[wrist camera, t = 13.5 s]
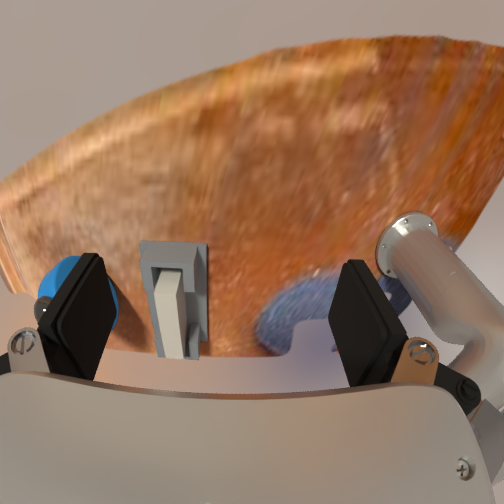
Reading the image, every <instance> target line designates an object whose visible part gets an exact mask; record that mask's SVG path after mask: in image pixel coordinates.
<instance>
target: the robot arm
mask: <svg viewBox="0 0 504 504" xmlns="http://www.w3.org/2000/svg"><path fill="white" fill-rule="evenodd" d="M376 260H377V263H378V265H379V267H380V269H381V270H382V272H383V273H384V274H386V275H387V276H389V277H392V278H398V279H399V280H400V282H401V283H402V285H403V286H404V288H405V289H406V290H407V292H408V293H409V295H410V296H411V298H412V299H413V301H414V302H415V304H416V305H417V307H418V308H419V310H420V312H421V313H422V315H423V316H424V318H425V319H426V321H427V323H428V324H429V326H430V327H431V329H432V331H433V332H434V333H435V335H436V336H437V337H438V338H440V339H441V340H442V341H445V342H448V343H451V344H458V345H464V349H463V350H462V351H461V352H460V354H459V355H458V356H457V357H456V358H455V359H454V360H453V361H452V362H451V363H450V364H449V365H448V366H445V365H443V364H441V363H439V354H438V350H437V349H436V347H435V346H434V345H433V344H432V343H431V342H430V341H428V340H426V339H424V338H420V337H414V338H410V339H409V338H408V336H407V335H406V333H407V332H406V330H405V329H404V327H403V325H402V323H401V322H400V320H399V318H398V316H397V314H396V313H395V311H394V309H393V307H392V306H391V304H390V302H389V301H388V299H387V297H386V295H385V294H384V292H383V290H382V289H381V287H380V286H379V284H378V282H377V281H376V279H375V277H374V276H373V274H372V273H371V271H370V269H369V268H368V266H367V265H366V263H365V262H364V260H353V259H350V260H348V262H347V263H344V264H343V267H342V270H341V274H340V277H339V281H338V284H337V288H336V291H335V295H334V298H333V301H332V304H331V308H330V311H329V315H328V320H329V324H330V327H331V330H332V333H333V336H334V339H335V342H336V345H337V348H338V351H339V354H340V357H341V360H342V363H343V366H344V369H345V373H346V376H347V379H348V382H349V385H350V387H348V388H339V389H329V390H319V391H307V392H292V393H271V394H212V393H211V394H210V393H191V392H176V391H164V390H153V389H144V388H136V387H129V386H122V385H114V384H109V383H103V382H96V381H93V380H94V377H95V374H96V371H97V368H98V365H99V362H100V359H101V356H102V353H103V351H104V348H105V345H106V342H107V340H108V337H109V334H110V332H111V329H112V327H113V324H114V322H115V319H116V316H117V308H116V305H115V302H114V298H113V295H112V291H111V288H110V284H109V280H108V277H107V273H106V269H105V265H104V261H103V258H102V257H99V255H98V254H97V253H84V254H83V255H82V256H81V257H80V259H79V260H78V262H77V263H76V264H75V266H74V267H73V269H72V270H71V271H70V273H69V274H68V276H67V277H66V279H65V280H64V282H63V283H62V285H61V286H60V288H59V289H58V291H57V292H56V294H55V295H54V297H53V299H52V300H51V302H50V303H49V305H48V307H47V308H46V310H45V311H44V313H43V315H42V316H41V318H40V320H39V322H38V325H39V327H38V329H37V330H35V329H33V328H23V329H20V330H18V331H17V332H15V333H14V334H13V335H12V337H11V338H10V340H9V342H8V352H7V353H5V354H4V355H2V356H0V504H496V503H495V499H494V494H493V489H492V486H493V485H495V484H497V483H499V482H500V481H502V480H504V410H503V411H502V412H499V411H498V410H499V409H500V408H501V407H502V406H503V405H504V306H503V305H502V304H501V303H500V302H499V301H498V300H497V299H496V298H495V297H494V295H492V293H491V292H490V291H489V290H488V289H487V288H486V287H485V286H484V284H483V283H482V282H481V281H480V280H479V279H478V278H477V277H476V276H475V274H474V273H473V272H472V271H471V270H470V269H469V268H468V267H467V266H466V265H465V264H464V263H463V262H462V261H461V260H460V259H459V258H458V256H457V255H456V254H455V253H454V252H453V251H452V247H451V246H448V245H446V244H445V243H444V242H443V241H442V240H440V239H439V238H438V230H437V226H436V224H435V223H434V221H433V220H432V219H431V218H430V217H429V216H427V215H426V214H423V213H420V212H410V213H406V214H404V215H402V216H400V217H398V218H396V219H395V220H394V221H392V222H391V223H390V224H389V225H388V226H387V228H386V229H385V230H384V232H383V233H382V235H381V237H380V239H379V241H378V244H377V249H376Z"/></svg>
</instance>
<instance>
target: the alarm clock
mask: <svg viewBox="0 0 504 504" xmlns="http://www.w3.org/2000/svg"><path fill="white" fill-rule="evenodd" d="M80 257H81V256H70V257H67V258H65V259H63V260H62V261H60V262H59V263H58V264H57V265H56V266H55V267H54V268H53V269H52V270H51V271H50V272H49V273H48V274H47V275H46V276H45V277H44V278H43V280H42V281H41V284H40V286H39V290H38V299H37V301H36V302H35V305H34V315H35V318H36V320H37V322H39V320H40V318H41V316H42V315H43V313H44V311H45V310H46V308H47V307H48V305H49V303H50V302H51V300H52V299H53V297H54V295H55V294H56V292H57V291H58V289H59V288H60V286H61V285H62V283H63V282H64V280H65V279H66V277H67V276H68V274H69V273H70V271H71V270H72V269H73V267H74V266H75V264H76V263H77V262H78V260H79V259H80ZM108 280H109V278H108ZM109 284H110V288H111V291H112V295H113V298H114V302H115V305H116V308H117V316H116V319H115V322H114V324H113V327H112V329H113V328H114V327H115V325H116V322H117V319H118V313H119V306H118V299H117V295H116V292H115V290H114V287H113V285H112V283H111V281H110V280H109ZM112 329H111V330H112Z"/></svg>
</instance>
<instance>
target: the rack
mask: <svg viewBox="0 0 504 504" xmlns="http://www.w3.org/2000/svg"><path fill="white" fill-rule="evenodd" d="M140 252H141V259H140V267H141V273H142V280H143V286H144V289H146V291H147V297H148V303H149V308H150V313H151V318H152V323H153V328H154V333H155V339H154V341H155V345H156V349H157V354H158V357H165V358H166V356H165V351H164V347H163V342H162V337H161V332H160V326H159V321H158V315H157V310H156V304H155V297H154V292H155V289H156V285H157V282H158V279H159V276H160V273H161V270H162V267H163V268H182V269H183V283H184V292H185V301H186V314H187V325H188V331H187V339H186V346H185V353H184V359H191V360H199V353H200V342H201V341H205V342H207V341H208V329H207V243H190V242H167V241H142V240H141V242H140Z"/></svg>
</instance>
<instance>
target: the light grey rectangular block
mask: <svg viewBox="0 0 504 504" xmlns="http://www.w3.org/2000/svg"><path fill="white" fill-rule="evenodd" d="M154 297H155V304H156V310H157V315H158V321H159V326H160V332H161V337H162V342H163V347H164V351H165V356H166V358H172V359H184V353H185V346H186V339H187V331H188V325H187V314H186V301H185V292H184V283H183V269H182V268H163V267H162V270H161V273H160V276H159V279H158V282H157V285H156V289H155V292H154Z"/></svg>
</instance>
